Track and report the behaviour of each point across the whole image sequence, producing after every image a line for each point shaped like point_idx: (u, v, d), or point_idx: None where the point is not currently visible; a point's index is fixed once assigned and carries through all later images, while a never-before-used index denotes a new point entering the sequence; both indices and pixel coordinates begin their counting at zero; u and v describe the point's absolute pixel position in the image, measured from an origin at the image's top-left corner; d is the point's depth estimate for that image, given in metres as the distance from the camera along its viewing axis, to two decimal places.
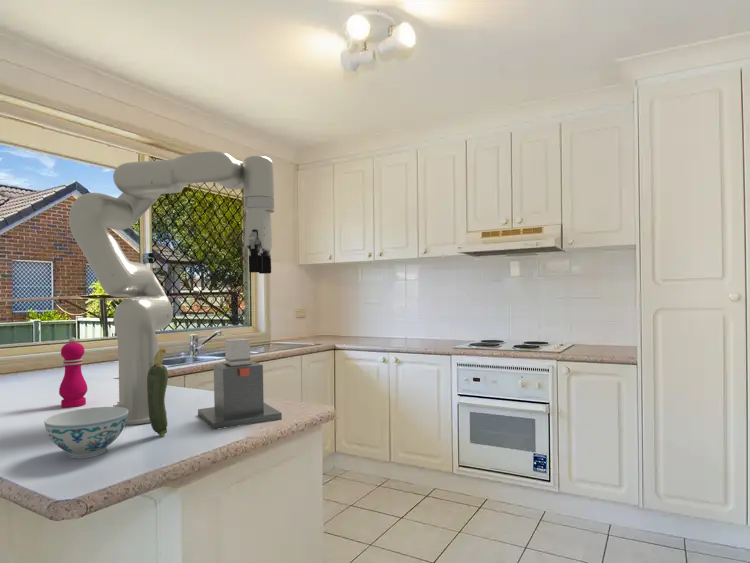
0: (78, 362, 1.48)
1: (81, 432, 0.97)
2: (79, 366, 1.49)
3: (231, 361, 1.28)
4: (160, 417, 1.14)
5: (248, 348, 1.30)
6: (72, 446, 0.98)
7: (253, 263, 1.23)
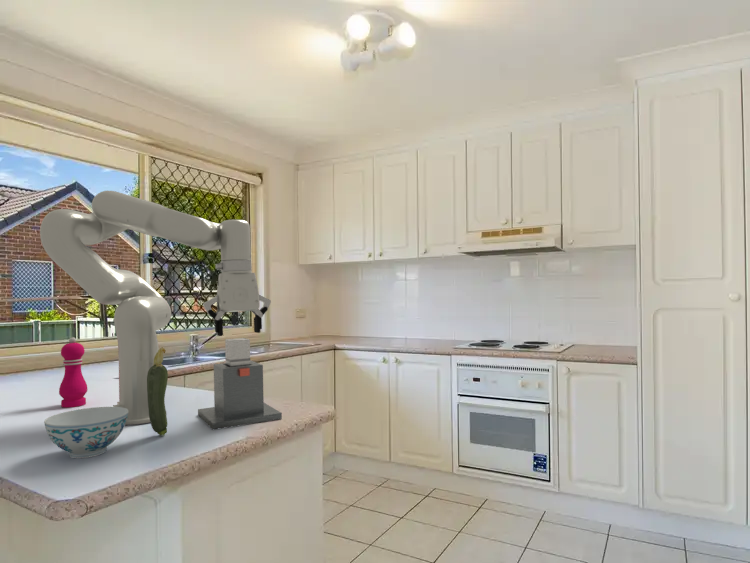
0: (78, 362, 1.48)
1: (81, 432, 0.97)
2: (79, 366, 1.49)
3: (231, 361, 1.28)
4: (160, 417, 1.14)
5: (248, 348, 1.30)
6: (72, 446, 0.98)
7: None
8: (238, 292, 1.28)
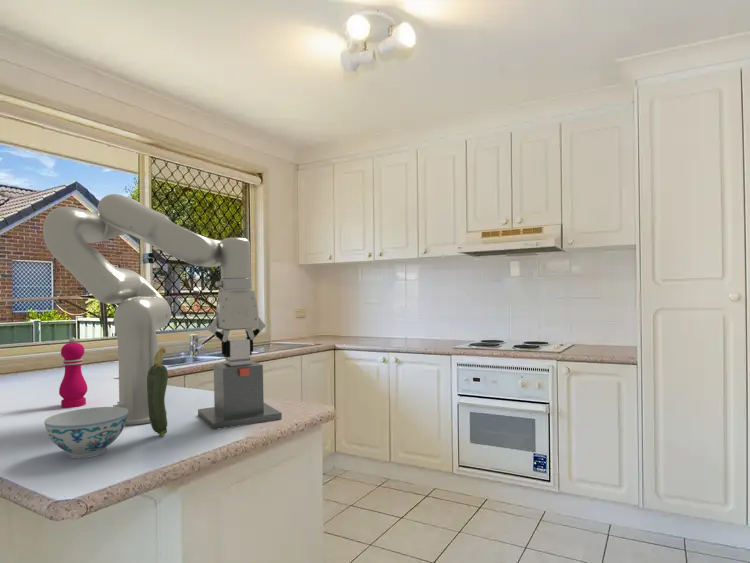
0: (78, 362, 1.48)
1: (81, 432, 0.97)
2: (79, 366, 1.49)
3: (231, 361, 1.28)
4: (160, 417, 1.14)
5: (248, 348, 1.30)
6: (72, 446, 0.98)
7: None
8: (237, 310, 1.28)
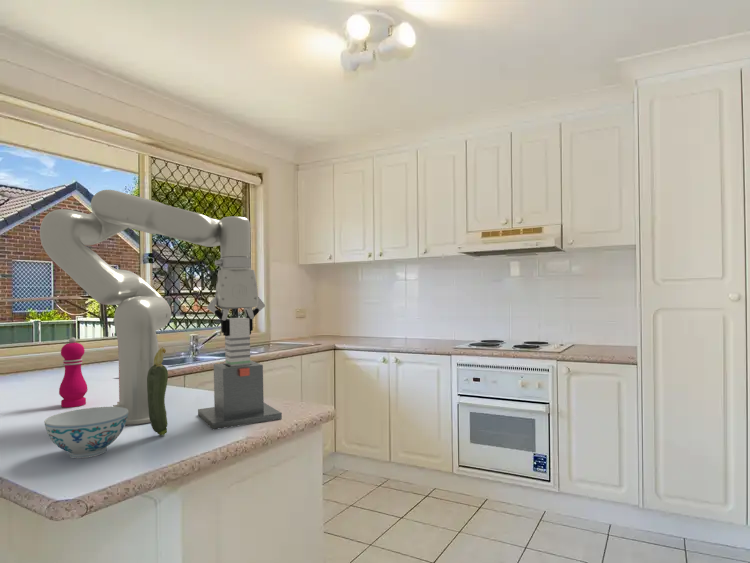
0: (78, 362, 1.48)
1: (81, 432, 0.97)
2: (79, 366, 1.49)
3: (231, 340, 1.28)
4: (160, 417, 1.14)
5: (248, 327, 1.30)
6: (72, 446, 0.98)
7: None
8: (237, 289, 1.28)
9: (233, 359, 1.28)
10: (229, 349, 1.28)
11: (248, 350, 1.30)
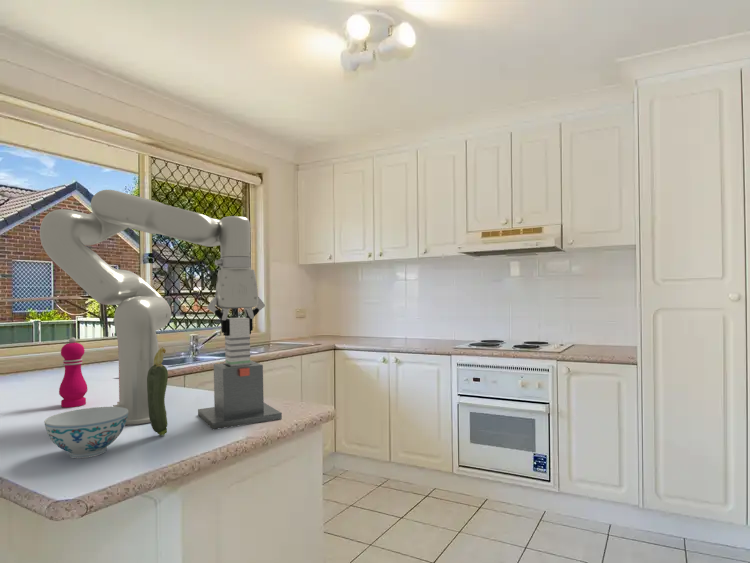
0: (78, 362, 1.48)
1: (81, 432, 0.97)
2: (79, 366, 1.49)
3: (231, 339, 1.28)
4: (160, 417, 1.14)
5: (248, 327, 1.30)
6: (72, 446, 0.98)
7: None
8: (237, 289, 1.28)
9: (233, 359, 1.28)
10: (229, 349, 1.28)
11: (248, 350, 1.30)
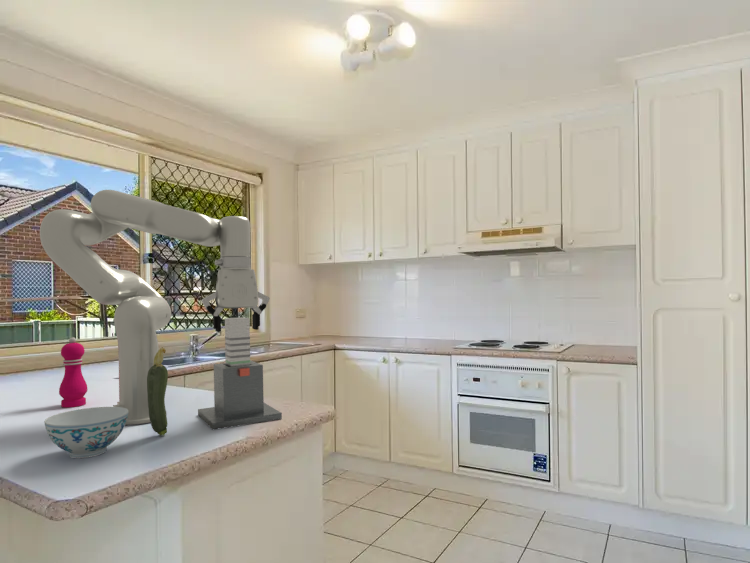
0: (78, 362, 1.48)
1: (81, 432, 0.97)
2: (79, 366, 1.49)
3: (231, 339, 1.28)
4: (160, 417, 1.14)
5: (248, 327, 1.30)
6: (72, 446, 0.98)
7: None
8: (237, 289, 1.28)
9: (233, 359, 1.28)
10: (229, 349, 1.28)
11: (248, 350, 1.30)
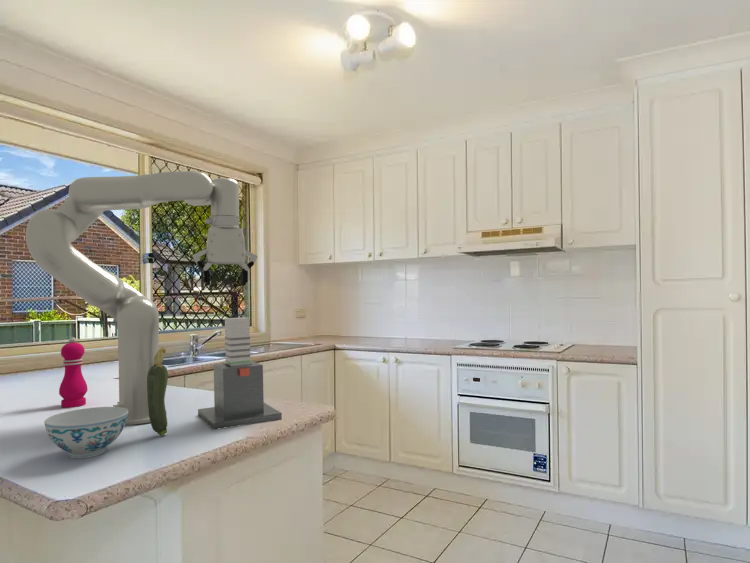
0: (78, 362, 1.48)
1: (81, 432, 0.97)
2: (79, 366, 1.49)
3: (231, 339, 1.28)
4: (160, 417, 1.14)
5: (248, 327, 1.30)
6: (72, 446, 0.98)
7: None
8: (225, 245, 1.38)
9: (233, 359, 1.28)
10: (229, 349, 1.28)
11: (248, 350, 1.30)
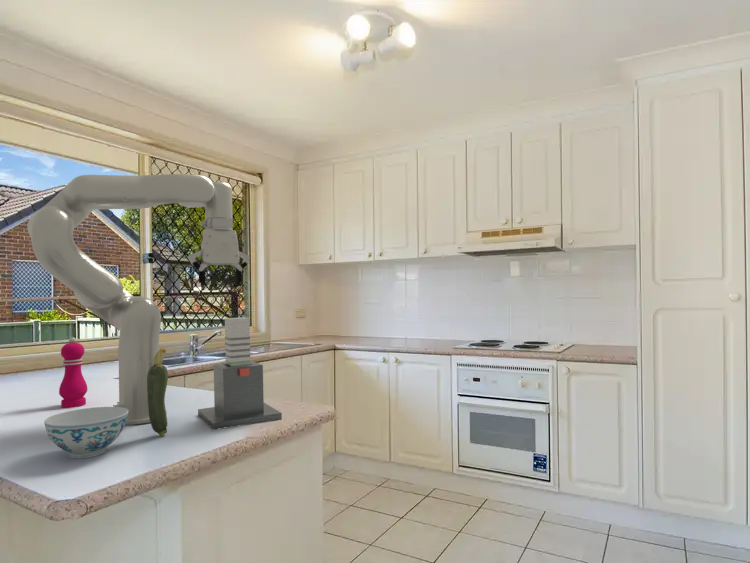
0: (78, 362, 1.48)
1: (81, 432, 0.97)
2: (79, 366, 1.49)
3: (231, 339, 1.28)
4: (160, 417, 1.14)
5: (248, 327, 1.30)
6: (72, 446, 0.98)
7: None
8: (220, 247, 1.43)
9: (233, 359, 1.28)
10: (229, 349, 1.28)
11: (248, 350, 1.30)
